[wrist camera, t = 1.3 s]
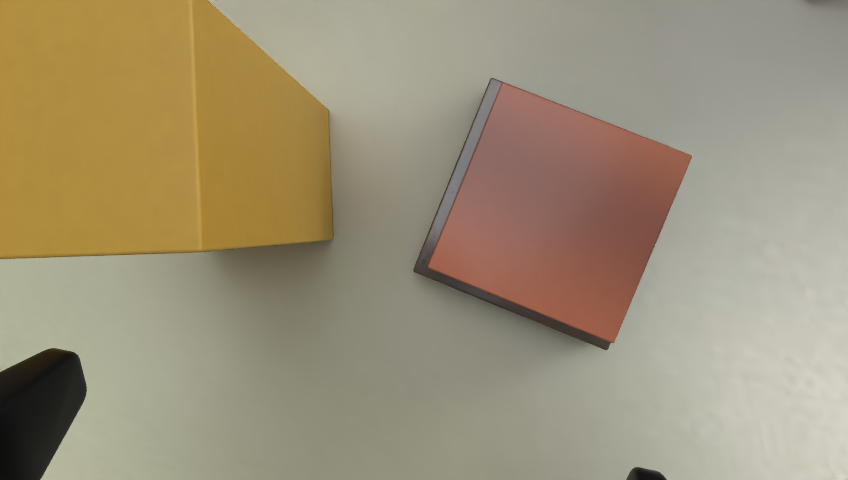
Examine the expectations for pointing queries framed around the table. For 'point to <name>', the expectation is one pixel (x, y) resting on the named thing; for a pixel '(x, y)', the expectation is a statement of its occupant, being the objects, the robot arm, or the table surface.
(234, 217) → the yellow block
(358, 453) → the table surface
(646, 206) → the stack
